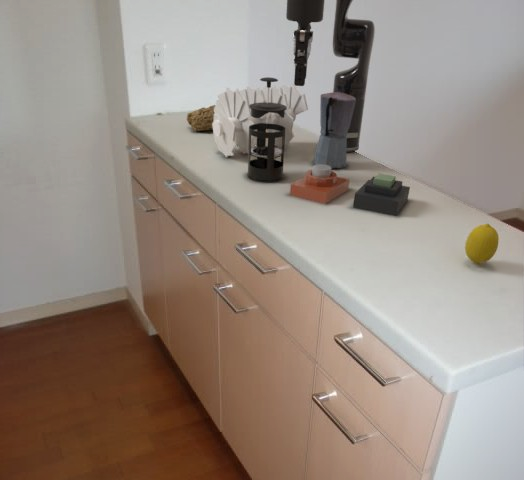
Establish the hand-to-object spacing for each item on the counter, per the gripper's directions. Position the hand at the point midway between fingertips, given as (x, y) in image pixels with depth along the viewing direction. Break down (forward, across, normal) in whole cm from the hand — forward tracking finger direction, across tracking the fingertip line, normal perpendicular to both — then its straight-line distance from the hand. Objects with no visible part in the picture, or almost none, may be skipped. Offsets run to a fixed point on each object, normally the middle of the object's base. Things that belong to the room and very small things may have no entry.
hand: (300, 82), depth 120 cm
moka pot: (+24, +22, -9) cm, 34 cm away
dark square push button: (+24, -6, -21) cm, 32 cm away
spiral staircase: (+24, +30, +13) cm, 40 cm away
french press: (+24, +9, +8) cm, 27 cm away
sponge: (+24, +56, +28) cm, 67 cm away
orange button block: (+24, 0, -6) cm, 25 cm away
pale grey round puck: (+20, 0, -6) cm, 21 cm away
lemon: (+24, -34, -36) cm, 55 cm away
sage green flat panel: (+19, -6, -21) cm, 29 cm away
